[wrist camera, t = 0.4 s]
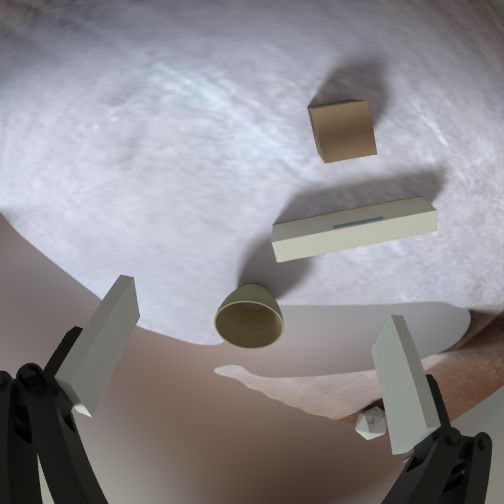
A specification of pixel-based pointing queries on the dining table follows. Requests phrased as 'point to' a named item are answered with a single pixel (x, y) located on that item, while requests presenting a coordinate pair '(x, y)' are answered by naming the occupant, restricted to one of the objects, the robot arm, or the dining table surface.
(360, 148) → the block
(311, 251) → the board
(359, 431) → the die
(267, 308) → the flower pot
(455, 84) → the dining table surface
